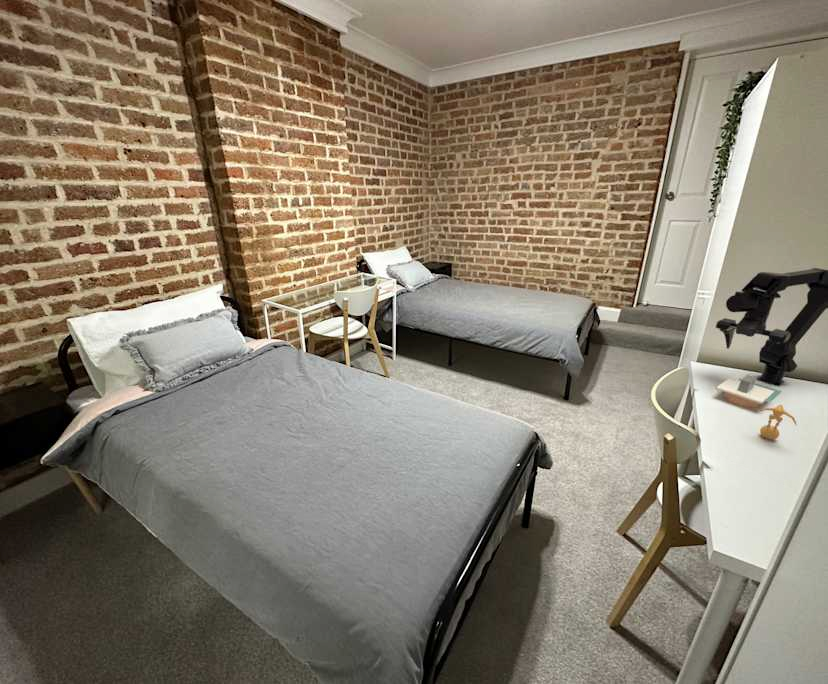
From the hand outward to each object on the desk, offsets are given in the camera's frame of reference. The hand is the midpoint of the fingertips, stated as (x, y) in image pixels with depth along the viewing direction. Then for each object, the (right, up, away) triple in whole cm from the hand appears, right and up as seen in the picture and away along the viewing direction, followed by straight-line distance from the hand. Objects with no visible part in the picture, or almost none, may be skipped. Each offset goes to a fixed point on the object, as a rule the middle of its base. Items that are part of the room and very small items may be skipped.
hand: (743, 352), depth 130 cm
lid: (-6, -13, -7) cm, 16 cm away
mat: (+4, -14, +1) cm, 14 cm away
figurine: (-16, -25, -25) cm, 38 cm away
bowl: (-6, -16, -6) cm, 18 cm away
